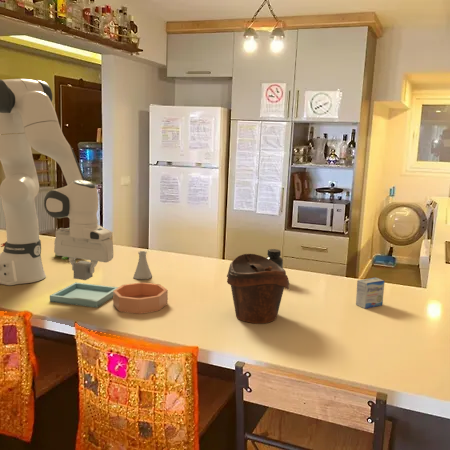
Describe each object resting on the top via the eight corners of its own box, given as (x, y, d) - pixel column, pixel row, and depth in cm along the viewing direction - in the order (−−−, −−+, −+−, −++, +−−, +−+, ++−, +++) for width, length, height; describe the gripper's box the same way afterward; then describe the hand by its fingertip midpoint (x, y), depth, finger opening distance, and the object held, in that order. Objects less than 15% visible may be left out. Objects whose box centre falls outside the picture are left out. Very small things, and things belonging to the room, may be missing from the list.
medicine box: (364, 309, 160) (366, 283, 159) (355, 304, 164) (357, 279, 163) (382, 305, 164) (385, 280, 162) (373, 301, 168) (375, 276, 166)
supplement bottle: (274, 285, 183) (276, 253, 181) (260, 281, 187) (261, 250, 185) (285, 281, 188) (287, 250, 186) (271, 277, 192) (272, 247, 190)
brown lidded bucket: (273, 333, 139) (275, 271, 136) (213, 318, 150) (214, 260, 147) (298, 315, 154) (301, 259, 151) (243, 302, 165) (244, 250, 162)
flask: (148, 280, 185) (148, 254, 183) (130, 279, 186) (129, 253, 184) (154, 275, 192) (154, 250, 190) (137, 274, 193) (137, 249, 191)
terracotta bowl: (105, 309, 155) (105, 295, 154) (129, 293, 170) (129, 280, 169) (153, 315, 151) (153, 301, 150) (172, 299, 166) (172, 285, 165)
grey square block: (73, 278, 163) (73, 263, 162) (80, 274, 168) (81, 260, 167) (85, 280, 162) (85, 265, 161) (92, 276, 166) (92, 262, 165)
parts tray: (49, 301, 161) (49, 295, 161) (75, 287, 175) (75, 282, 175) (96, 307, 156) (96, 301, 156) (119, 293, 171) (119, 287, 170)
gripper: (50, 228, 162) (50, 269, 164) (106, 236, 156) (105, 278, 159) (61, 225, 168) (61, 265, 170) (116, 232, 162) (115, 273, 165)
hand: (83, 271), depth 165 cm, fingers closed on grey square block, 4 cm apart
